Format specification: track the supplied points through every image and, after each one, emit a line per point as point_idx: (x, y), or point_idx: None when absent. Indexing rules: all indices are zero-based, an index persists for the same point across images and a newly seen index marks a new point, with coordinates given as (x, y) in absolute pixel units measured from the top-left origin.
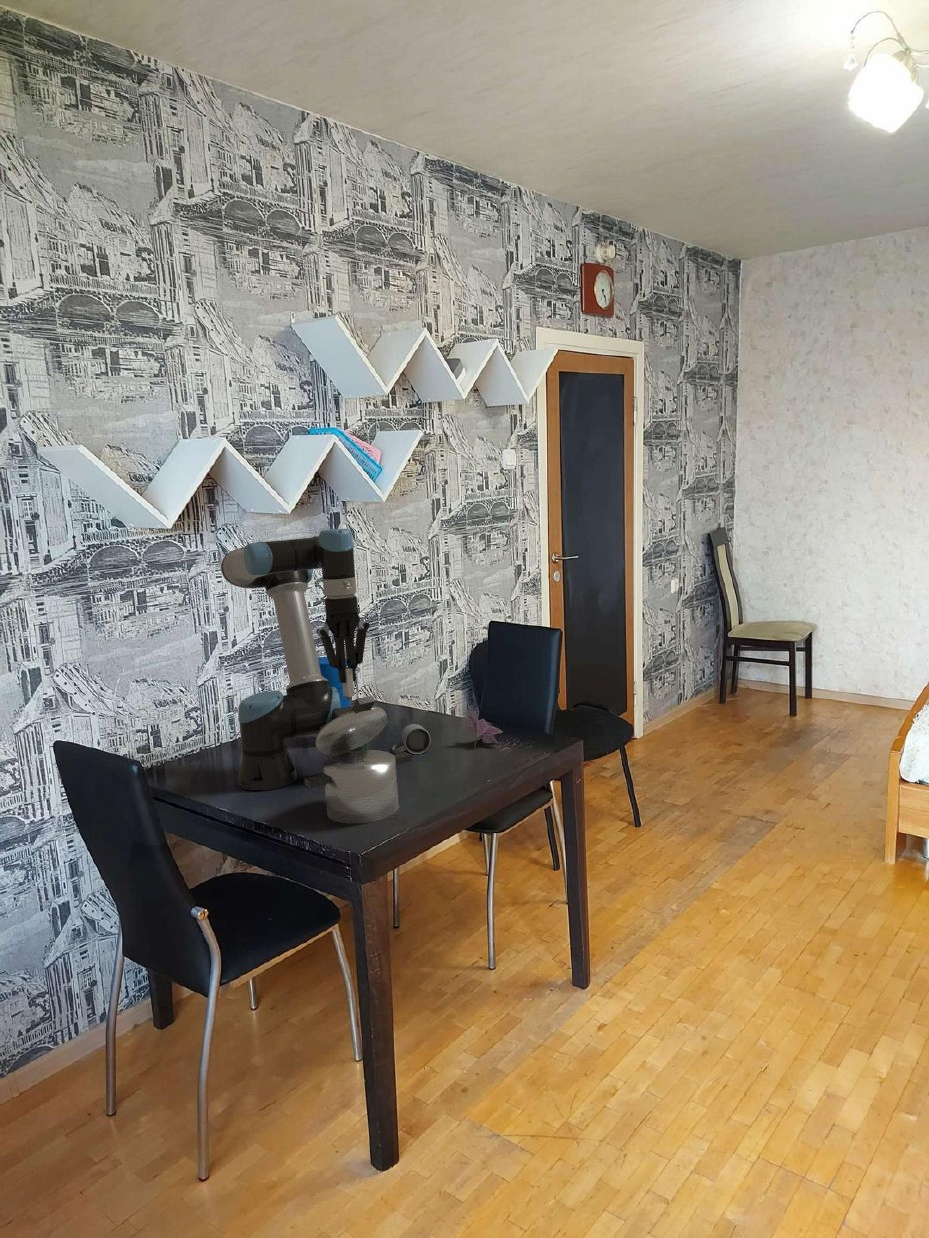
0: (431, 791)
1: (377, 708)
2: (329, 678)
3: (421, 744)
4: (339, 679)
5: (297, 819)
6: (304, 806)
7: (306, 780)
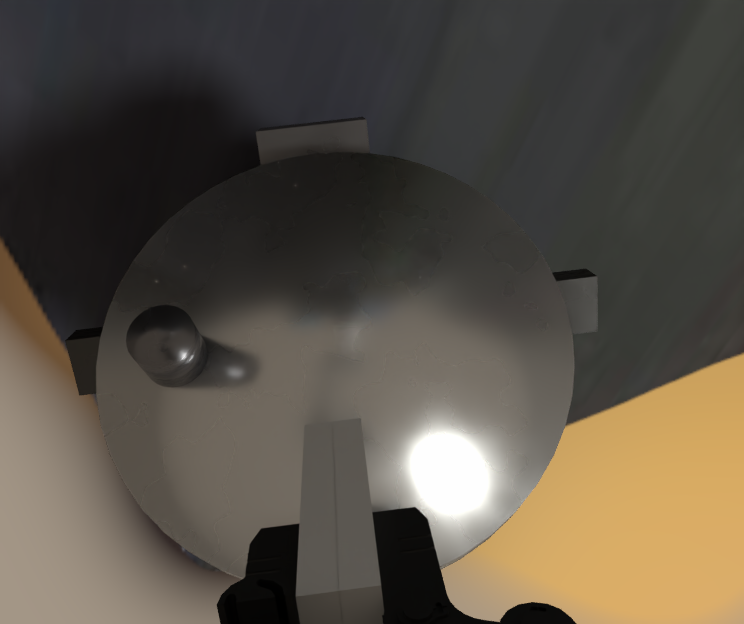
0: (611, 264)
1: (487, 537)
2: None
3: None
4: (251, 561)
5: (96, 225)
6: (151, 108)
7: (72, 360)
